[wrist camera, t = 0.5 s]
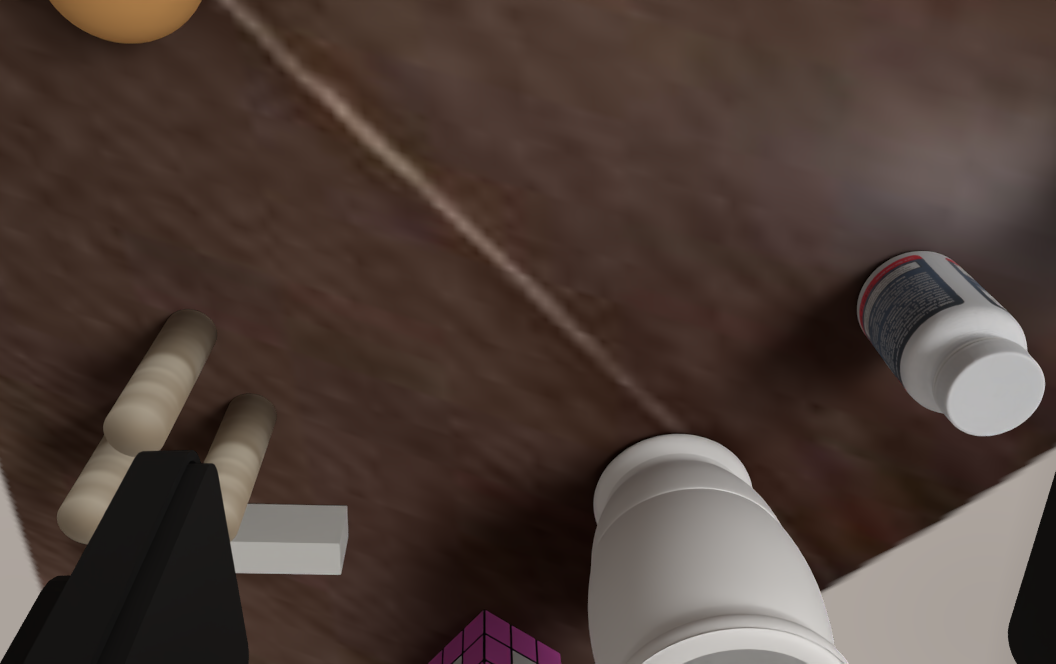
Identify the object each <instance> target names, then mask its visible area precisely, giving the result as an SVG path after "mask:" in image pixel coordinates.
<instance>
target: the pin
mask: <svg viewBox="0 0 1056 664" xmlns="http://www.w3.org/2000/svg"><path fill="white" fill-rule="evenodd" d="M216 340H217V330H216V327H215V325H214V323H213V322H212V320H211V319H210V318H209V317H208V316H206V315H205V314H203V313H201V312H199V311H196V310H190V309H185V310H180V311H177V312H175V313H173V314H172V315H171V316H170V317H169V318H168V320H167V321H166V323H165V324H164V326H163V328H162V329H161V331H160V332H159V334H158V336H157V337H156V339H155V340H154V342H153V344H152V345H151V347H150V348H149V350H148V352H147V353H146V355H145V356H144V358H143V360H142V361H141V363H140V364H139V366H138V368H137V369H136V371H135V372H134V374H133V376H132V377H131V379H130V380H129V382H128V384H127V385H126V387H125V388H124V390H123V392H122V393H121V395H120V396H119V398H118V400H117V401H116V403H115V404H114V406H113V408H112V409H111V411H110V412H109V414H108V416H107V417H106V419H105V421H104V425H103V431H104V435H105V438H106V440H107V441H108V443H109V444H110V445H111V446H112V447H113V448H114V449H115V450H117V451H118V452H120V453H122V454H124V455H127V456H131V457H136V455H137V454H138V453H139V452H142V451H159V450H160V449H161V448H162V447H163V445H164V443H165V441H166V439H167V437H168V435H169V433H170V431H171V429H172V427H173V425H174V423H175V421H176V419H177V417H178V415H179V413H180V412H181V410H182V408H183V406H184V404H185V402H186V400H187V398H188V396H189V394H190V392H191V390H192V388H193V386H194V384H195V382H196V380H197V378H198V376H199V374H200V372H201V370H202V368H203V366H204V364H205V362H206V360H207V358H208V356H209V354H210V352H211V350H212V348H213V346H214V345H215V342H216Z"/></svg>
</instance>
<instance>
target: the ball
mask: <svg viewBox="0 0 1056 664" xmlns="http://www.w3.org/2000/svg"><path fill="white" fill-rule="evenodd" d="M49 1H50V2H51V3H52V4H53V6H54V7H55V8H56V9H57V10H58V11H59V12H60V13H61V14H62V15H63V16H64V17H65V18H66V19H67V20H68V21H70V22H71V23H72V24H74V25H75V26H77V27H78V28H80V29H81V30H83V31H85V32H87V33H89V34H91V35H93V36H96V37H98V38H101V39H104V40H108V41H112V42H117V43H125V44H128V43H145V42H151V41H154V40H157V39H160V38H163V37H165V36H167V35H169V34H171V33H173V32H174V31H176V30H177V29H179V28H180V27H181V26H182V25H183V24H185V23H186V22H187V21H188V20H189V19H190V17H191V16H192V15H193V14H194V12H195V11H196V9H197V8H198V6H199V4H200V3H201V0H49Z"/></svg>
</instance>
